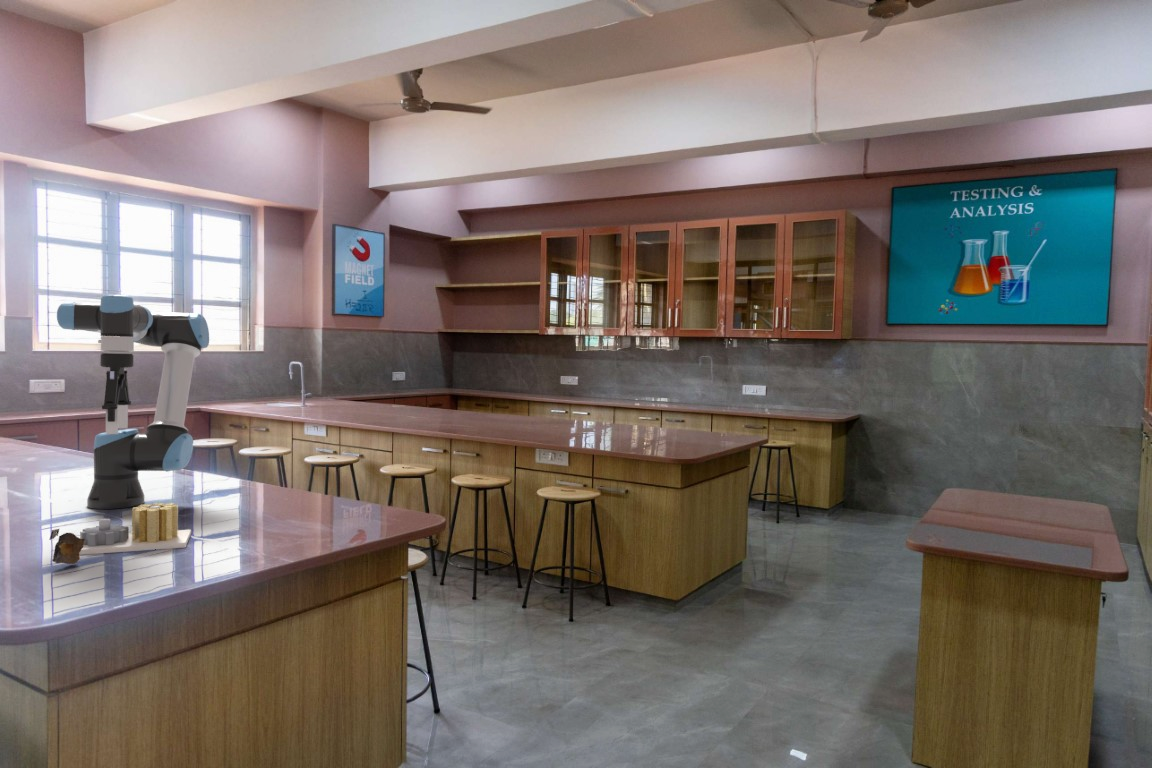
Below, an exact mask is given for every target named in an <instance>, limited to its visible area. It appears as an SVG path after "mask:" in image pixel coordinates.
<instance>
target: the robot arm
mask: <svg viewBox="0 0 1152 768" xmlns="http://www.w3.org/2000/svg"><path fill="white" fill-rule="evenodd" d="M56 321H57V323H58V325H59V327H60V328H62V329H63V330H72V331H87V332H95V333H100V339H99V340H97V343H98V344H100V351H101V352H102V353H101V354H100V366H101V367H102V368H109V370H107V371H106V380H105V381H106V382H105V390H104V391H105V392H104V401H103V402H104V403H103V405H101V409H102V410H105V432H100V433H98V434H96V435H95V437H94V442H93V448H92V450H93V477H94V478H93V483H92V486H91V489H90V491H89V493H88V497H87V499H86V500H87V501H86V504H87V505H86V506H87V507H88V508H90V509H94V510H95V509H96V510H97V509H98V510H112V509H113V510H114V509H124V508H130V507H131V508H133V507H135V506H136V507H138V506H139V505H143V504H145V493H144V491H143V488H142V485H141V482H140V480H139V472H172V471H173V472H175V471H180V470H183V469H185V468H186V466H187V465H189V462H190V460H191V459H192V454H193V450H194V445H193V444H194V438H193V436H192V434H189V429H188V428H187V427H186V426H185V420H186V414H187V409H188V402H189V395H190V389H191V381H192V376H193V369H194V365H195V364H194V363H195V358H197V357H199V356H200V355H201V352H202V349H206V348H208V346H209V345H210V344H209V343H210V330H209V326H208V323H207V320H206V318H205V316H203V314H201V313H195V312H194V313H193V312H173V311H172V312H171V311H167V312H166V311H150V310H149V308H147V307H145V306H143V305H140V304H134V299H133V297H132V296H130V295H124V294H123V295H121V294H103V295H102V296H101V298H100V303H90V302H89V303H87V302H85V303H84V302H75V301H73V302H63V303H61V304H60V305H59V306H58V308H57V311H56ZM135 343H136V344H140V345H143V346H149V347H159V348H160V347H161V348H160V350H161V352H162V353H164V362H163V366H162V371H161V378H160V384H159V390H158V393H157V394H158V395H157V401H156V404H155V405H156V406H155V413H154V418H153V422H152V423H150V424H148V426H146V432H145V433H140V432H139V430H138V429H137V428H129V405H132V400H130V394H129V383H128V370H127V369H126V368H132V367H133V366H134V354H133V353H132V352H134V351H135V350H134V345H135Z"/></svg>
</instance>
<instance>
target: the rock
mask: <svg viewBox="0 0 1152 768" xmlns="http://www.w3.org/2000/svg"><path fill="white" fill-rule="evenodd" d="M59 532H60V528H56V529H53V530H51V533H50V537H49V540H54V539H55V538H56V537H58V541H57V542H56V544H55V545H54V551H53V558H52V562H53V563H55V564H66V565H75V564H76V563H78V562H79V561H80V559H81V558H80V555H79V552H80V551H81V549H82V548H83V544H84V540H85V539H80V538H79V537H76V534H74V533H72V532H64V533H63V534H60V535H59Z"/></svg>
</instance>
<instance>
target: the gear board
mask: <svg viewBox="0 0 1152 768" xmlns="http://www.w3.org/2000/svg"><path fill="white" fill-rule="evenodd" d="M154 508H161V506H152V507H150V509H154ZM129 531H130V530H129V526H128V525H121V524H111V518H100V519H98V525H95V526H94V527H85V528H83V529H82V531H79V535H78V536H76V535H75V536H76V537H79V538H80V539H85V540H84V544H83V548H82V549H81V551H80V552H79V556H81V555H95V554H97V555H98V554H110V553H122V552H140V551H141V552H142V551H153V550H155V549H156V550H165V549H167V550H169V549H170V550H171V549H181V548H182V549H183V548H186V547H187V545H188V543H189V540H190V538H191V536H192V529H178V537H173V538H172V540H169V541H158V542H156V543H149V542H141V543H137V542H135V540H132V532H130V533H129ZM156 550H155V551H156Z"/></svg>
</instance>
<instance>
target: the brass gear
mask: <svg viewBox="0 0 1152 768" xmlns="http://www.w3.org/2000/svg"><path fill="white" fill-rule="evenodd" d="M152 506H161V508H154V509H150V507H152ZM131 508H132V509H131V524H132V525H131V533H132V540H135V542H137V543H141V542H149V543H156V542H158V541H169V540H172V538H173V537H178V530H179V505H178V504H177V505H176V503H173V502H170V503H162V502H154V503H151V504H149V503H148V504H146V503H143V504H140V505H138V506H136V507H135V506H132V507H131Z"/></svg>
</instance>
